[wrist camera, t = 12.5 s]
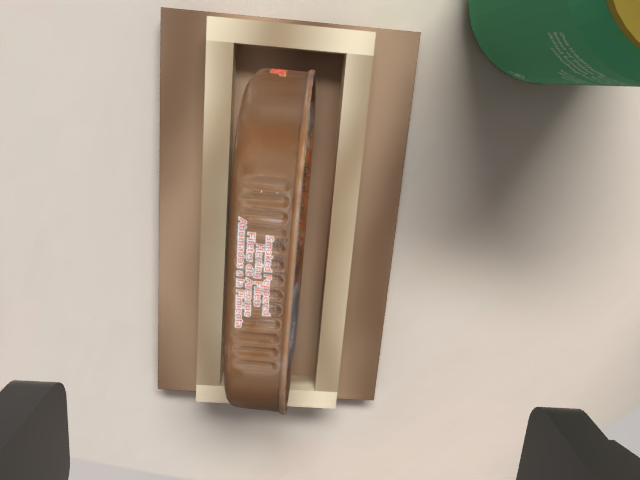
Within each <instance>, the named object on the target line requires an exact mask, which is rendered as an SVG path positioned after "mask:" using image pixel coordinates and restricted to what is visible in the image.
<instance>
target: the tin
mask: <svg viewBox="0 0 640 480" xmlns="http://www.w3.org/2000/svg"><path fill="white" fill-rule="evenodd" d="M315 104H316V71H315V70H310V71H308V72H304V71H291V70H282V69H270V68H265V69H260V70H259V71H258V72H257V73H256V74H255V75H254V76H252V78H251V79H250V80H249V81H248V83H247V85H246V87H245V90H244V94H243V97H242V102H241V107H240V111H239V116H238V122H237V128H236V136H235V144H234V154H233V165H232V177H231V195H230V215H229V231H228V251H227V274H226V296H225V323H224V358H223V359H224V388H225V393H226V398H227V400H228V401H229V403H230V404H231V405H233V406H236V407H242V408H250V409H259V410H270V411H278V412H280V413H281V414H286V410H287V404H288V398H289V391H290V381H291V372H292V363H293V356H294V350H295V343H296V335H297V324H298V314H299V299H300V290H301V279H302V267H303V256H304V244H305V233H306V221H307V209H308V199H309V187H310V176H311V163H312V151H313V133H314V122H315Z"/></svg>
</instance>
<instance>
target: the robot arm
mask: <svg viewBox="0 0 640 480" xmlns="http://www.w3.org/2000/svg"><path fill="white" fill-rule="evenodd" d="M69 469H70V454H69V435H68V417H67V399H66V391H65V388H64V386H63V384H62V383H59V382H39V381H18V380H14V381H11V382H10V383H9V384H7V385H6V386H5V387H4V389H3V390H2V391H1V392H0V480H68V477H69ZM516 480H640V458H639V457H638V456H636V455H635V454H633V453H632V452H630V451H629V450H628V449H626V448H625V447H623V446H622V445H620V444H619V443H617V442H616V441H615V440H608V438H607V437H606V436H605V435H604V434H603V433H602V431H601V430H600V429H599V428H598V427H597V425H596V424H595V423H594V422H593V421H592V420H591V418H590V417H589V416H588V415H587V414H586V413H585V412H584V411H583V410H581V409H570V408H550V407H536V408H534V409H533V410H532V412H531V414H530V417H529V420H528V425H527V430H526V435H525V440H524V444H523V449H522V454H521V459H520V464H519V469H518V473H517V478H516Z"/></svg>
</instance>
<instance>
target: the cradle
mask: <svg viewBox="0 0 640 480" xmlns="http://www.w3.org/2000/svg"><path fill="white" fill-rule="evenodd" d="M420 35H421V32H411V31H401V30H391V29H380V28H370V27H360V26H349V25H339V24H329V23H318V22H308V21H298V20H287V19H277V18H267V17H256V16H246V15H236V14H225V13H215V12H205V11H195V10H184V9H174V8H164V7H161V53H160V189H159V326H158V389H166V390H185V391H196V402H213V403H229V401H228V400H227V398H226V393H225V388H224V359H223V358H224V323H225V296H226V274H227V251H228V231H229V215H230V195H231V177H232V165H233V154H234V144H235V136H236V128H237V122H238V116H239V111H240V107H241V102H242V97H243V94H244V90H245V87H246V85H247V83H248V81H249V80H250V79H251V78H252V76H254V75H255V74H256V73H257V72H258V71H259V70H260V69H265V68H270V69H282V70H291V71H304V72H308V71H310V70H315V71H316V104H315V122H314V133H313V151H312V163H311V176H310V187H309V199H308V209H307V221H306V233H305V244H304V256H303V267H302V279H301V290H300V299H299V314H298V324H297V335H296V343H295V350H294V356H293V363H292V372H291V381H290V391H289V398H288V404H287V406H292V407H312V408H332V409H336V400H337V398H340V399H359V400H374V394H375V386H376V378H377V370H378V363H379V355H380V347H381V339H382V331H383V324H384V316H385V308H386V300H387V292H388V285H389V277H390V269H391V261H392V253H393V246H394V238H395V230H396V222H397V214H398V207H399V199H400V191H401V183H402V175H403V168H404V160H405V152H406V144H407V136H408V129H409V121H410V113H411V105H412V97H413V90H414V82H415V74H416V66H417V58H418V51H419V43H420Z"/></svg>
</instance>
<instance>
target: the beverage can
mask: <svg viewBox="0 0 640 480" xmlns="http://www.w3.org/2000/svg"><path fill="white" fill-rule="evenodd" d="M468 9H469V19H470V23H471V26H472V30H473V33H474V36H475V38H476V40H477V43H478V45H479V46H480V48H481V49H482V51H483V52H484V54H485V55H486V57H487V58H488V59H489V60H490V61H491V62H492V63H493V64H494V65H495V66H496V67H497V68H499V69H500V70H501V71H503V72H504V73H506V74H508V75H510V76H512V77H513V78H516V79H519V80H522V81H525V82H530V83H537V84H567V85H601V86H636V87H640V0H468Z"/></svg>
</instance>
